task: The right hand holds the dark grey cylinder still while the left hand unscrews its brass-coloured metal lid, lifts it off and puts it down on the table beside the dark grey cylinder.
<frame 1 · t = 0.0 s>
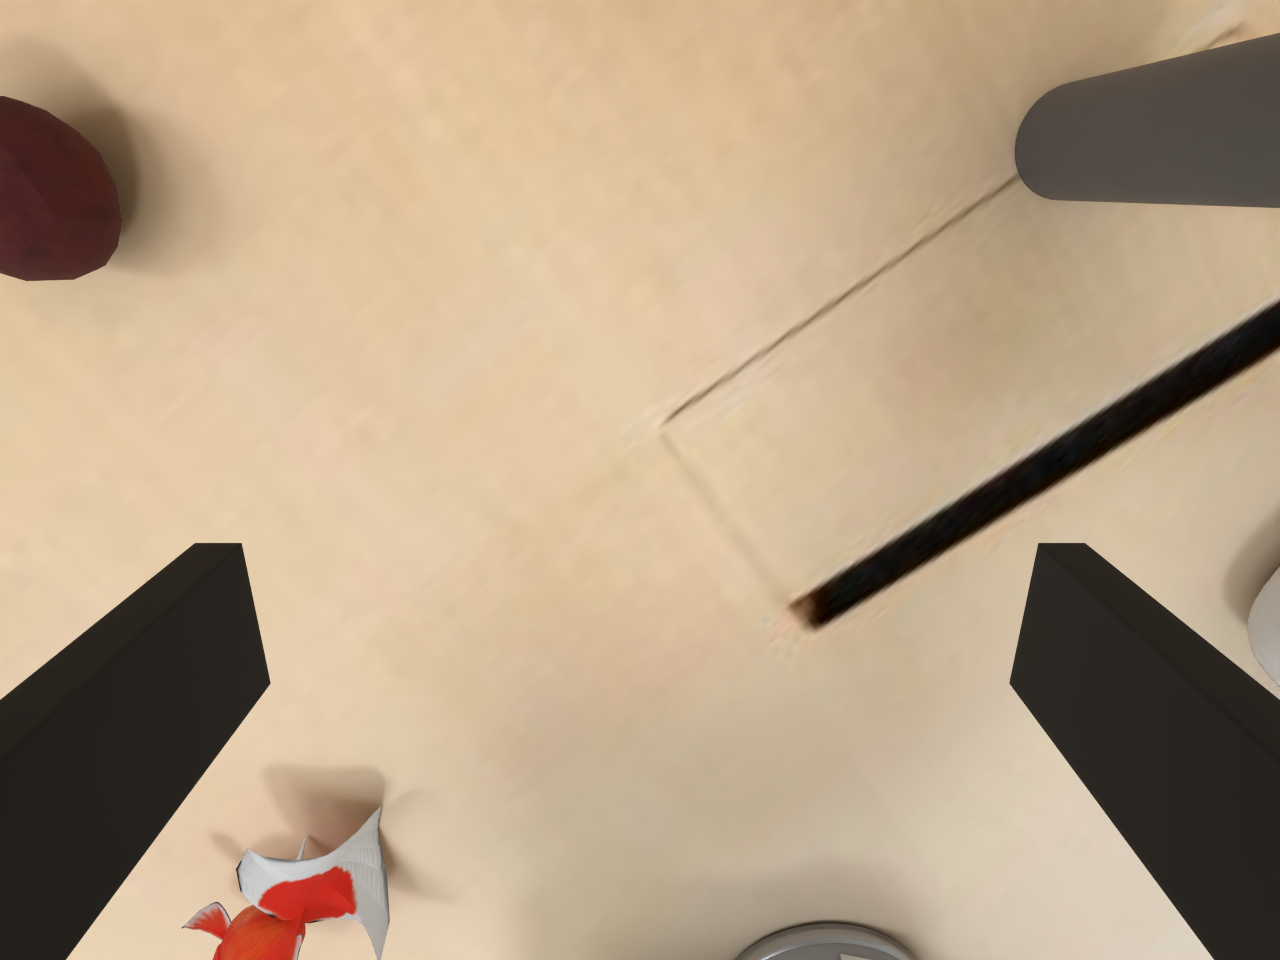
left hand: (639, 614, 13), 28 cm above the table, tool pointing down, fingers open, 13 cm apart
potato: (78, 194, 37), on the table
dark grey cylinder: (1069, 142, 36), on the table
fish: (318, 851, 52), on the table
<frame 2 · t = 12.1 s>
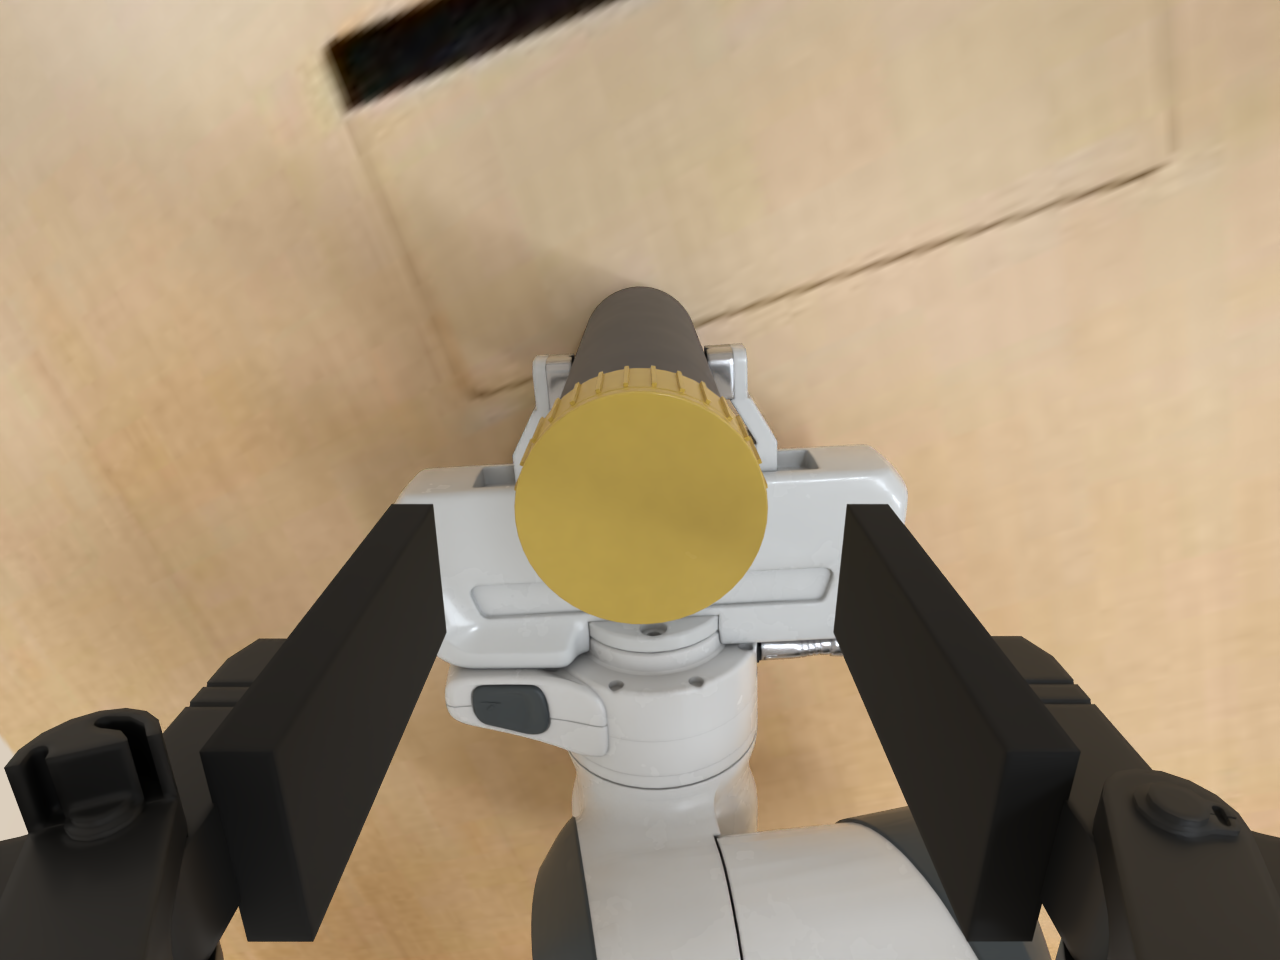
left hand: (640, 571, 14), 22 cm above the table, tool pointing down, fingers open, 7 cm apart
right hand: (637, 351, 29), fingers closed on dark grey cylinder, 5 cm apart
dark grey cylinder: (640, 343, 35), on the table, touching right hand
lid: (641, 508, 17), point 19 cm above the table, screwed on, not yet turned
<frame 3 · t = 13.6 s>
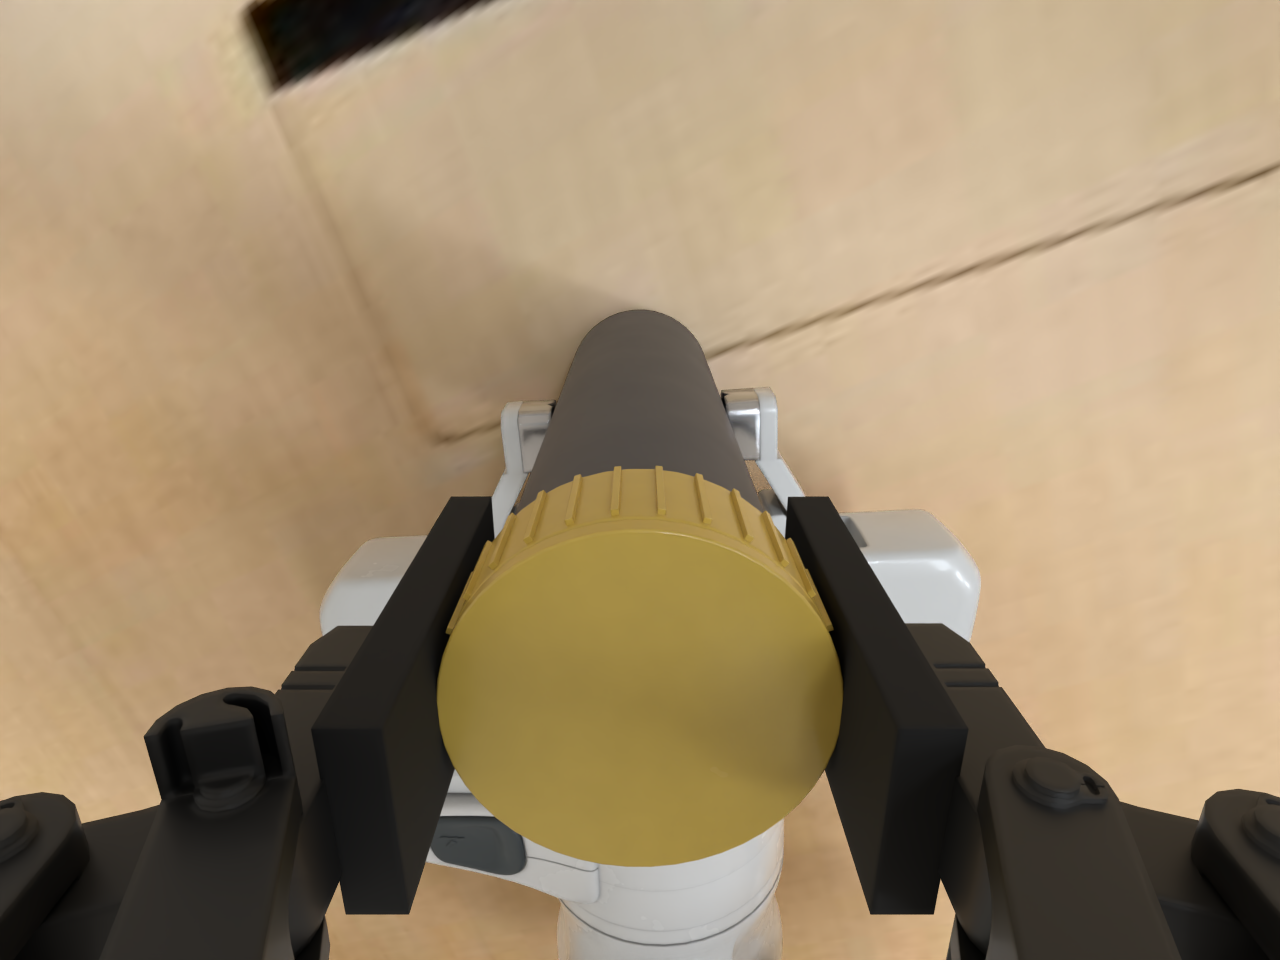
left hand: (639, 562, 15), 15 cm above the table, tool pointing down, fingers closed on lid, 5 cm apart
dark grey cylinder: (639, 378, 29), on the table, touching right hand
lid: (640, 699, 11), point 19 cm above the table, screwed on, not yet turned, touching left hand
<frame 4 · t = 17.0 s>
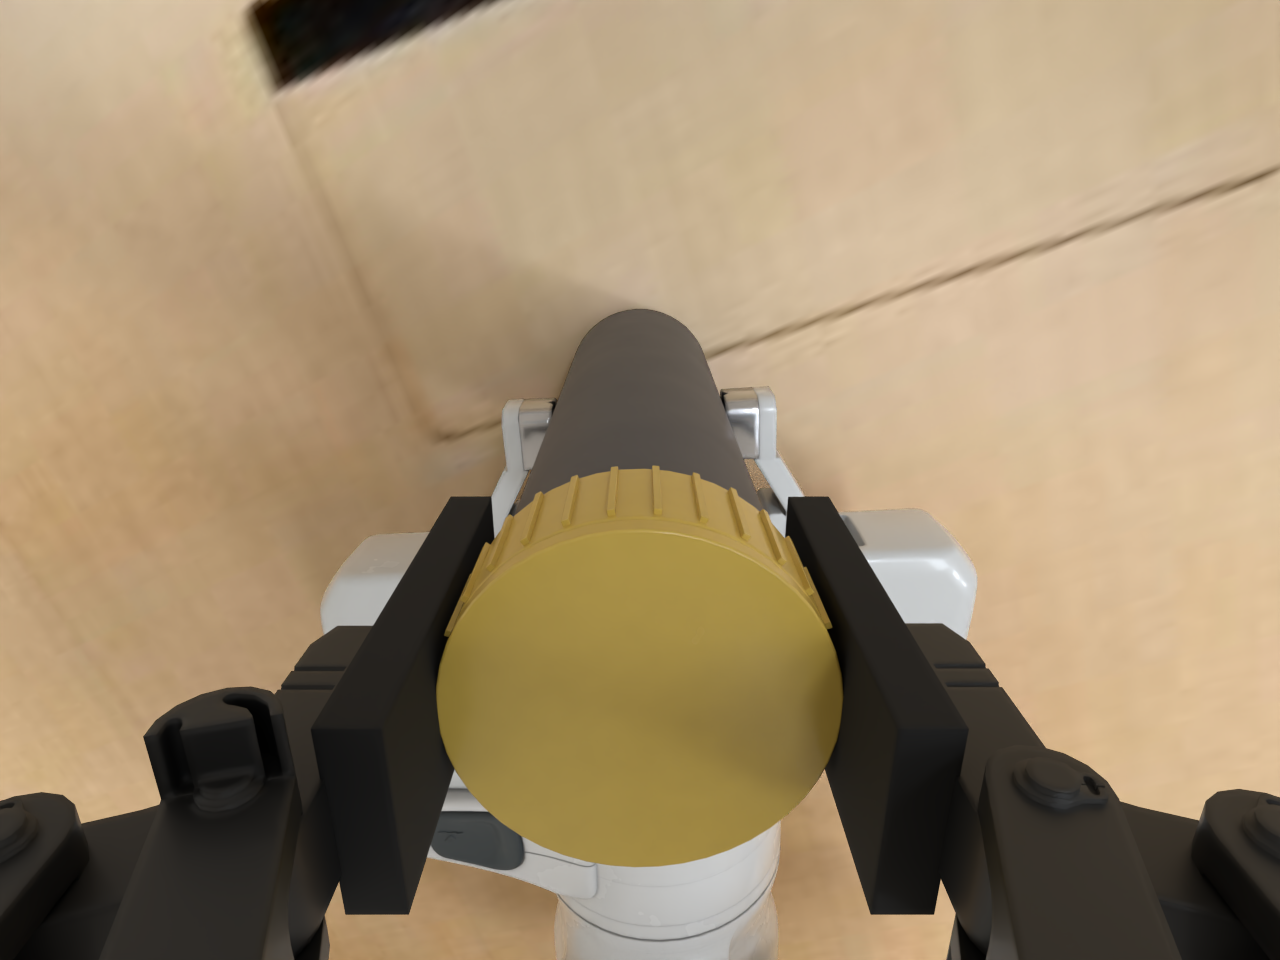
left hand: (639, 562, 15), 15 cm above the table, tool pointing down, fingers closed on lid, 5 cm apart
dark grey cylinder: (639, 377, 29), on the table, touching right hand
lid: (639, 699, 11), point 19 cm above the table, turned 100° so far, risen 0.2 cm, still on its thread, touching left hand
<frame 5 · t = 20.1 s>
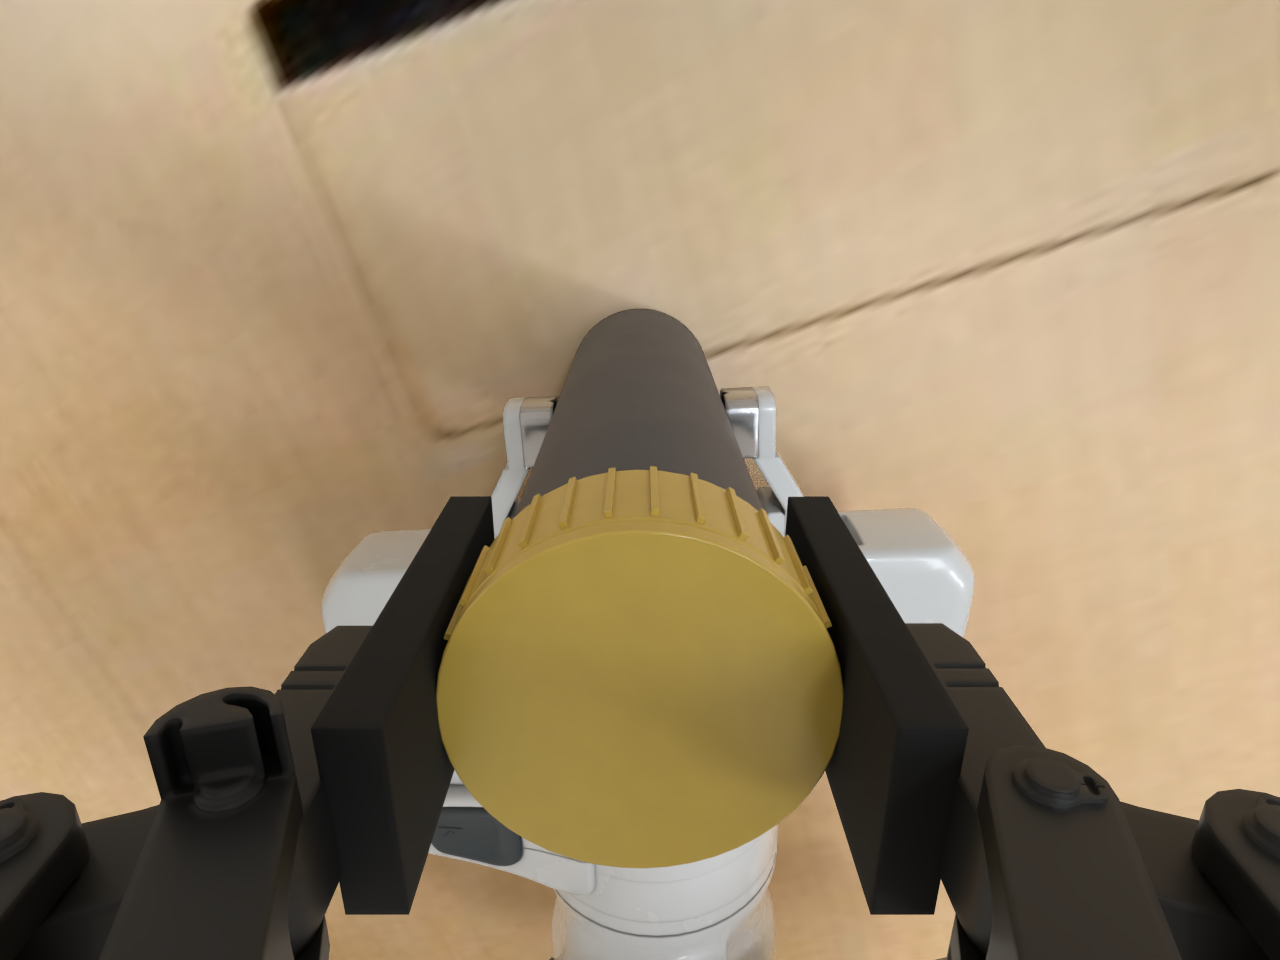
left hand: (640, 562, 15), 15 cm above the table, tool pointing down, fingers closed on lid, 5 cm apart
dark grey cylinder: (640, 376, 29), on the table, touching right hand
lid: (639, 700, 11), point 19 cm above the table, turned 201° so far, risen 0.3 cm, still on its thread, touching left hand
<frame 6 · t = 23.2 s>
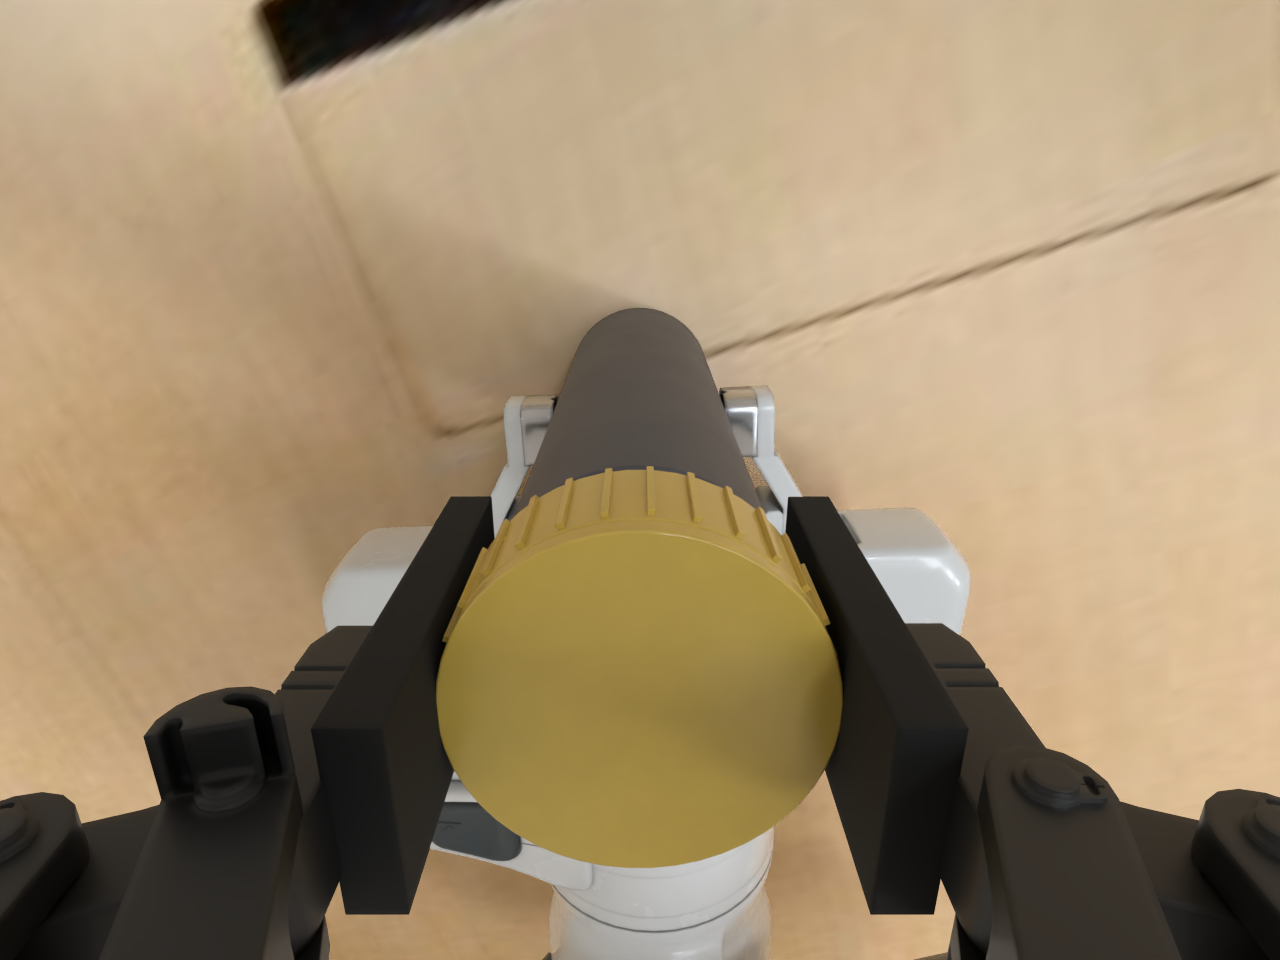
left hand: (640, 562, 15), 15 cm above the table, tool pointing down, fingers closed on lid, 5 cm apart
dark grey cylinder: (639, 375, 29), on the table, touching right hand
lid: (639, 700, 11), point 20 cm above the table, turned 301° so far, risen 0.5 cm, still on its thread, touching left hand
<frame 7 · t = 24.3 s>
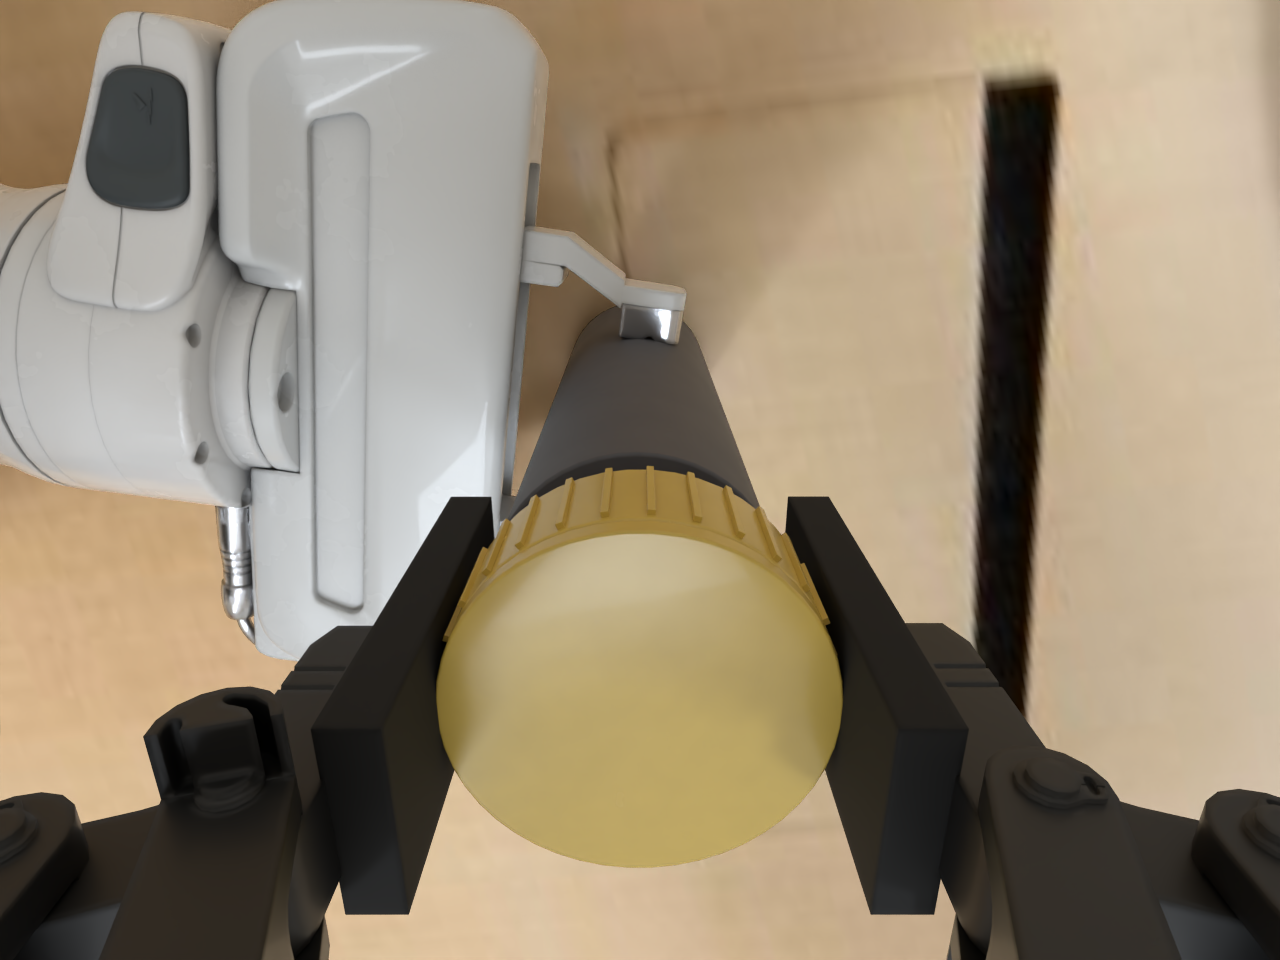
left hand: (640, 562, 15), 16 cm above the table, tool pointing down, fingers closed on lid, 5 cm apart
right hand: (665, 418, 24), fingers closed on dark grey cylinder, 5 cm apart
dark grey cylinder: (636, 369, 29), on the table, touching right hand
lid: (639, 699, 11), point 20 cm above the table, off its thread, touching left hand
when the left hand's fingers open (0 cm above the table, at t = 30.3 s): lid drops 2 cm, point 2 cm above the table.
when the right hand's fingers open (6 cm above the table, at t = 31.0 s): dark grey cylinder stays where it is, on the table.
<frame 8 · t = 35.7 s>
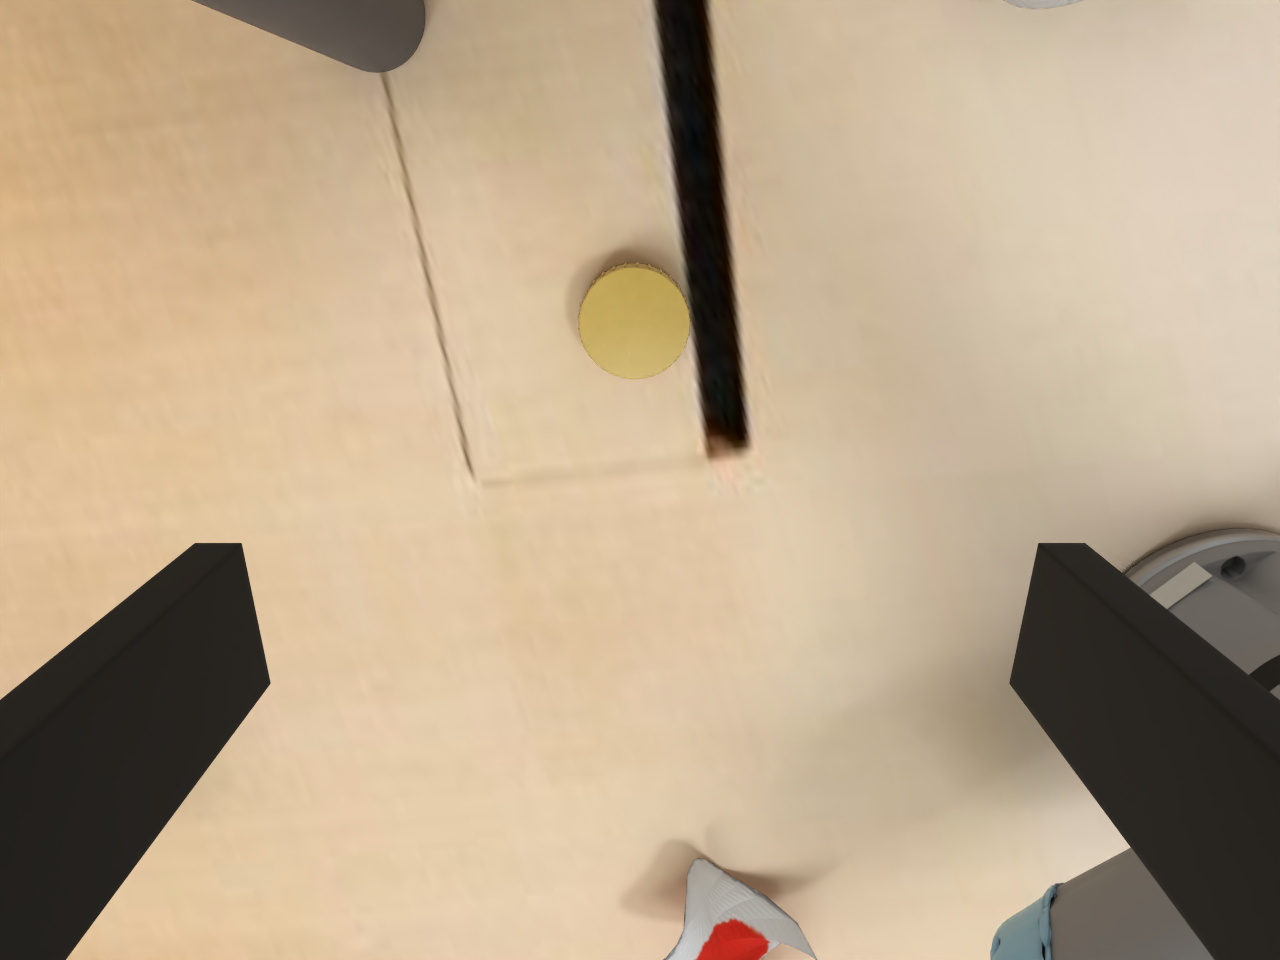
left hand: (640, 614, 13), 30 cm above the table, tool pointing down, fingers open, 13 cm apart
dark grey cylinder: (370, 10, 35), on the table
fish: (719, 919, 56), on the table
lid: (634, 323, 39), point 2 cm above the table, off its thread
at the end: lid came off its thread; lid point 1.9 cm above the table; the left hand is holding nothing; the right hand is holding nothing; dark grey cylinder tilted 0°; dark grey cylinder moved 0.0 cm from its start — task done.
